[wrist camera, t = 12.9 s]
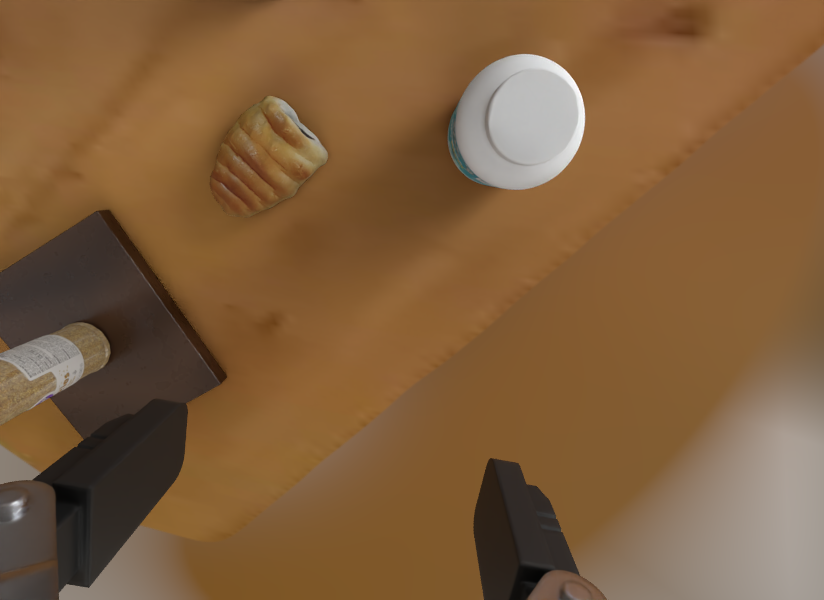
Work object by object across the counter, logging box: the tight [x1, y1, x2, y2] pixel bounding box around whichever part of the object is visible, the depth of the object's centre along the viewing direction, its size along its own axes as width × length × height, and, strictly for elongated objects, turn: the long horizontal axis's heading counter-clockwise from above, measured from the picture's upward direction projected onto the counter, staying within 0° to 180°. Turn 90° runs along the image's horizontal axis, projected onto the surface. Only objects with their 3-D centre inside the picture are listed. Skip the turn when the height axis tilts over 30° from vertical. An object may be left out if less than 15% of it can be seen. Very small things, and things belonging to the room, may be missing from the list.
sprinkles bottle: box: [0, 322, 110, 425], centre depth 34 cm, size 5×5×13 cm
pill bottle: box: [448, 54, 585, 190], centre depth 30 cm, size 8×7×14 cm
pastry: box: [210, 96, 328, 217], centre depth 36 cm, size 9×7×4 cm
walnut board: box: [0, 210, 227, 439], centre depth 41 cm, size 17×14×2 cm
